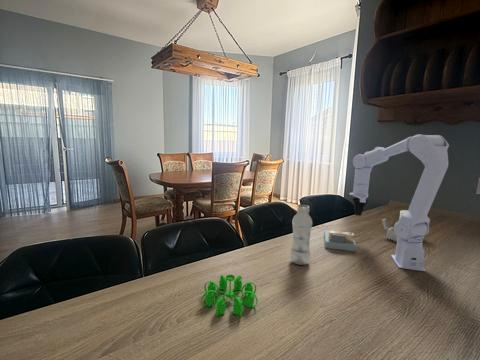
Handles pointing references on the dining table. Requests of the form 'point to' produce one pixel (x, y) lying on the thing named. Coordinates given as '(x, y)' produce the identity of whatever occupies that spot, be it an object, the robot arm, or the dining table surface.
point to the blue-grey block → (338, 242)
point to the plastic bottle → (301, 236)
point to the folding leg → (348, 234)
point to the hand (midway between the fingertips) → (357, 215)
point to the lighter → (389, 231)
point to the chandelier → (229, 294)
